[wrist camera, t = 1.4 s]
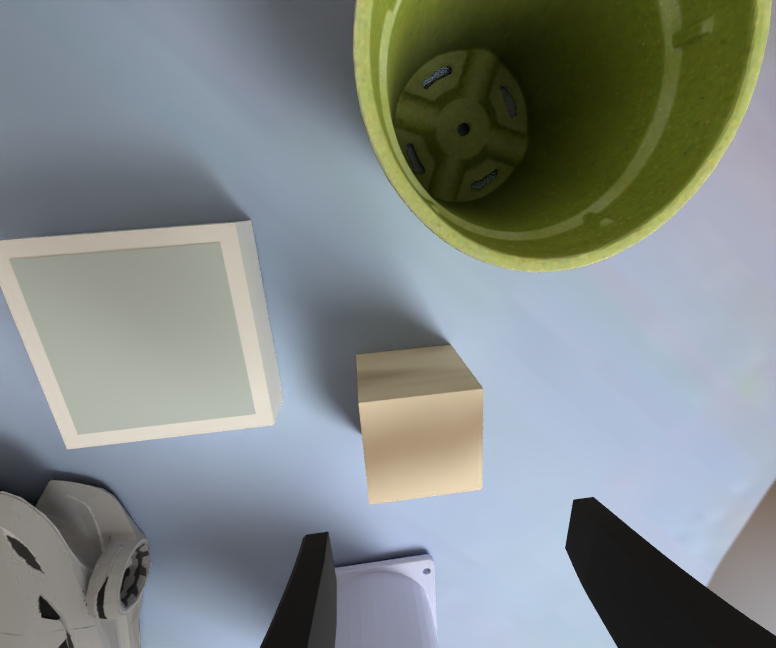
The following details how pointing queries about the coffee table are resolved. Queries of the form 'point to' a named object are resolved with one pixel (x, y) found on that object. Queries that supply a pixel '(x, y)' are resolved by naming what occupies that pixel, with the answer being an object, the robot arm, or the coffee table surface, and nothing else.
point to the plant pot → (554, 115)
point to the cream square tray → (146, 330)
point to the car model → (70, 570)
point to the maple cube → (419, 423)
